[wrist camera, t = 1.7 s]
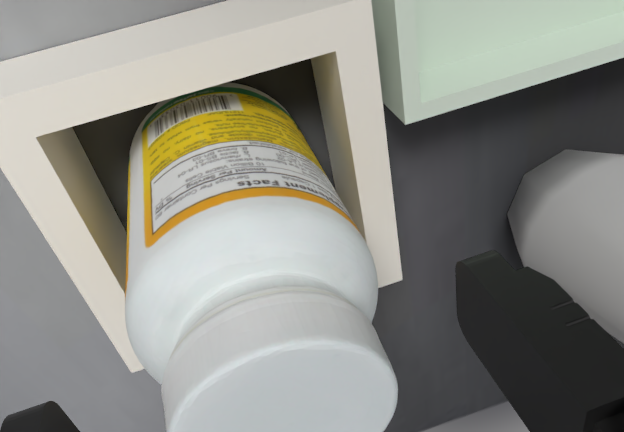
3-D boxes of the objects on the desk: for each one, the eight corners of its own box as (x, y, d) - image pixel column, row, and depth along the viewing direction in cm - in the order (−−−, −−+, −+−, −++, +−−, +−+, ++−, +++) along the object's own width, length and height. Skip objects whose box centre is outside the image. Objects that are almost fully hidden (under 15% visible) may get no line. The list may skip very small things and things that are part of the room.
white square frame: (-7, 63, 13) (-38, 109, 11) (330, -28, 14) (370, -5, 12) (132, 307, 19) (132, 373, 16) (369, 228, 20) (402, 280, 17)
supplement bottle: (176, 42, 14) (224, 260, 7) (332, 124, 17) (497, 348, 9) (98, 200, 16) (67, 511, 8) (250, 251, 19) (331, 523, 11)
